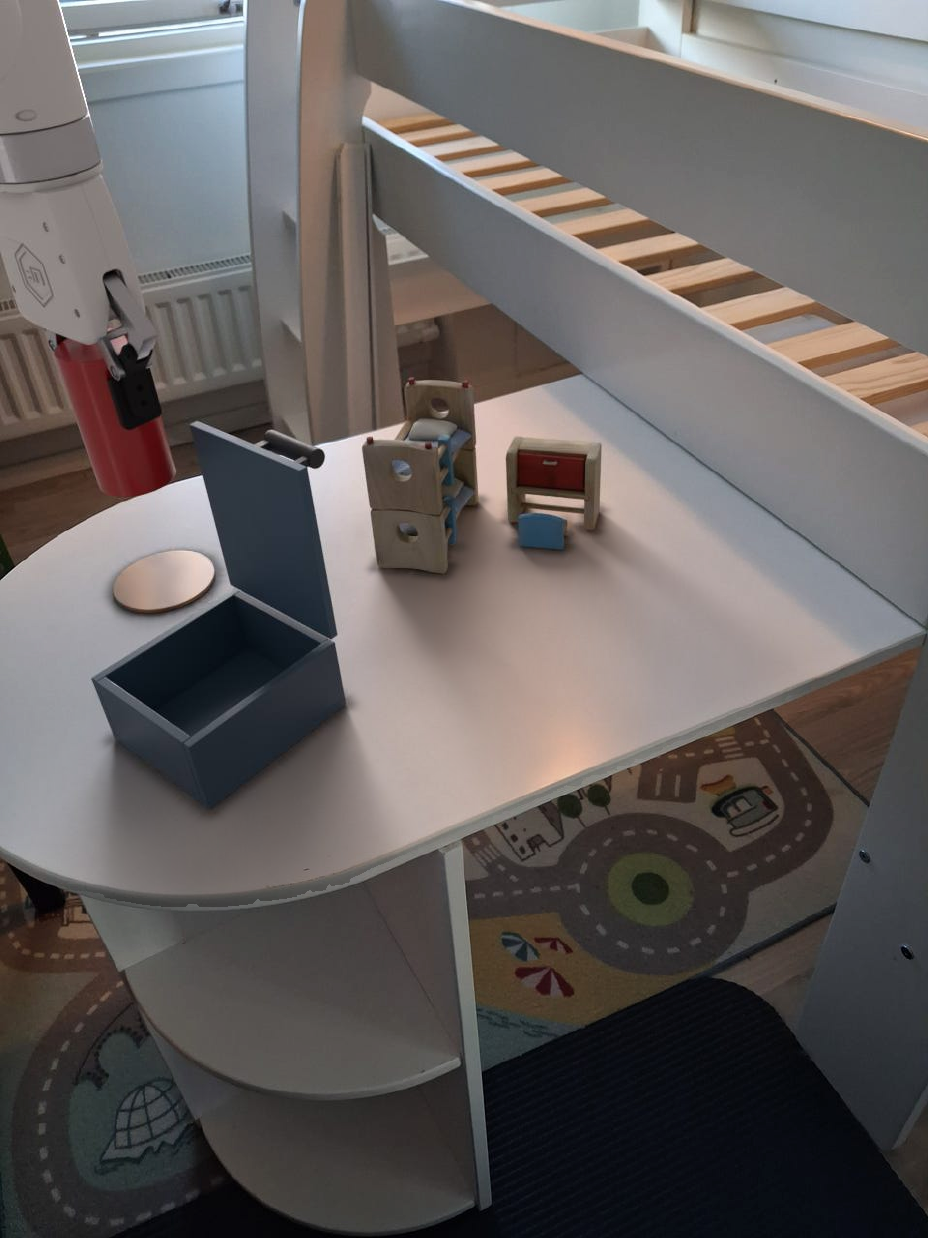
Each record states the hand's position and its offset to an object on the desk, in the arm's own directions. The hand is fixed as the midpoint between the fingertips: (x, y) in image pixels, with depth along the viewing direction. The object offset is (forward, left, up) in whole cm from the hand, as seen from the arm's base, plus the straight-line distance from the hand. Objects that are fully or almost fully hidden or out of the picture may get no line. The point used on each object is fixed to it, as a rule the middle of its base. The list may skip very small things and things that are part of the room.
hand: (115, 407), depth 74 cm
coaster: (+1, +13, -25) cm, 28 cm away
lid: (+7, -8, -10) cm, 14 cm away
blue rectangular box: (0, -10, -25) cm, 27 cm away
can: (0, 0, -6) cm, 6 cm away
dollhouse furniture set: (+32, +1, -25) cm, 41 cm away
